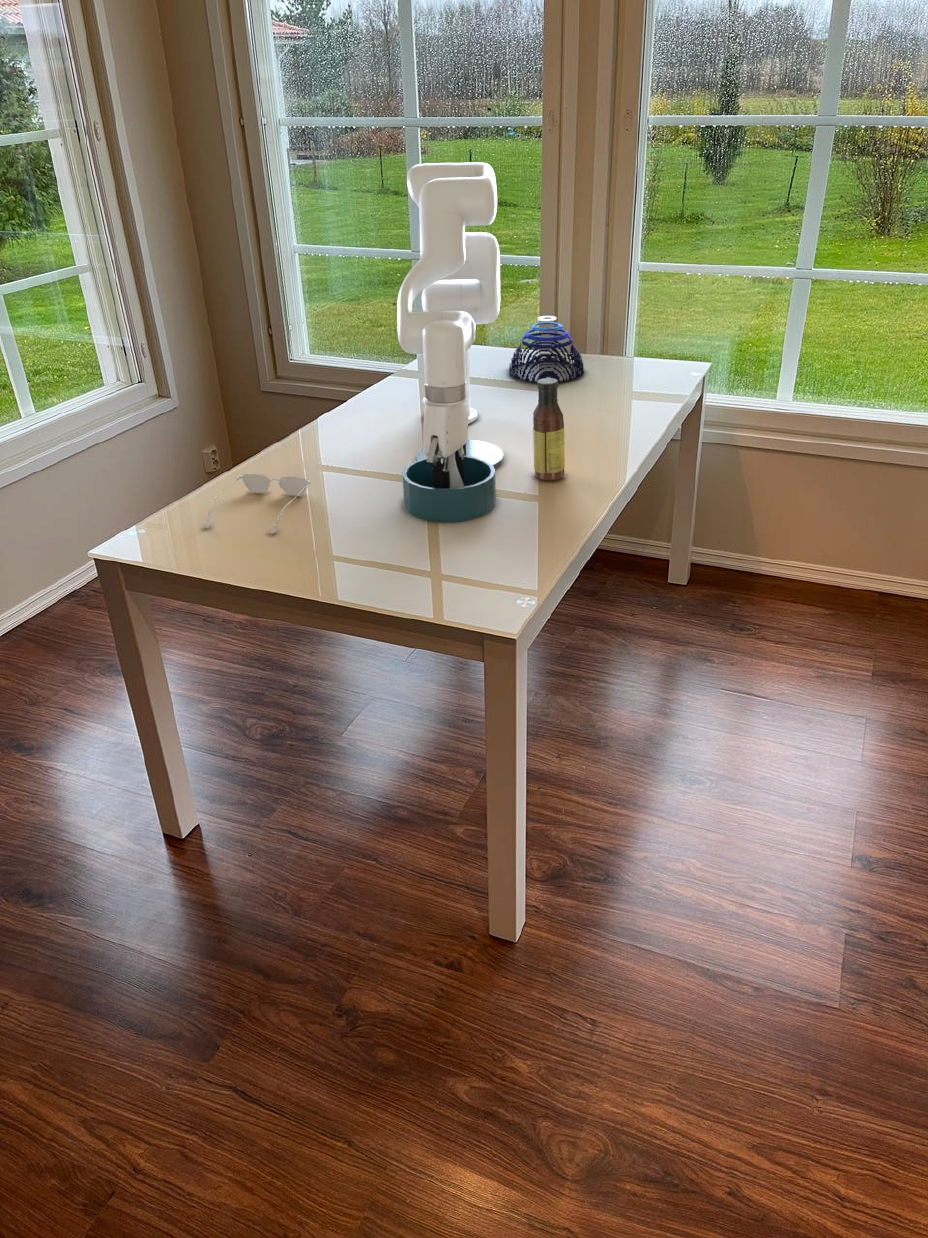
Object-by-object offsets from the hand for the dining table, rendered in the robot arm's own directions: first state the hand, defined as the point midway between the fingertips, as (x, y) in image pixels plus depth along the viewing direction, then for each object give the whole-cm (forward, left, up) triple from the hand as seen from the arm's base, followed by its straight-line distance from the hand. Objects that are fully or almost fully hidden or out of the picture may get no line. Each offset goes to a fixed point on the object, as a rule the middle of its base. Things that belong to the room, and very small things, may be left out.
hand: (449, 483), depth 182 cm
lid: (-15, +17, -3) cm, 23 cm away
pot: (0, 0, -4) cm, 4 cm away
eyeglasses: (-24, -28, -4) cm, 37 cm away
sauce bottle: (+5, +23, -4) cm, 24 cm away
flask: (0, 0, -3) cm, 3 cm away
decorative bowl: (-44, +77, -4) cm, 89 cm away
